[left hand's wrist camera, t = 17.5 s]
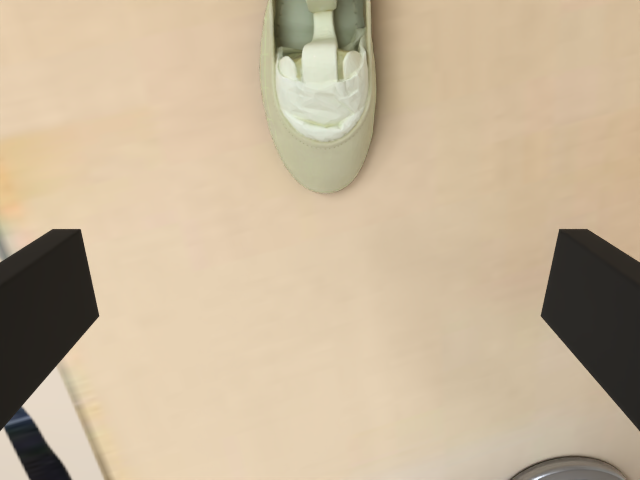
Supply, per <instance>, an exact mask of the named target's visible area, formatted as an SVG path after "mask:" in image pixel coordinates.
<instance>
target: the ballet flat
mask: <svg viewBox="0 0 640 480" xmlns="http://www.w3.org/2000/svg"><path fill="white" fill-rule="evenodd" d="M260 84H261V92H262V99H263V104H264V108H265V113H266V118H267V122H268V126H269V130H270V133H271V136H272V139H273V141H274V144H275V147H276V149H277V151H278V153H279V155H280V157H281V159H282V162H283V163H284V165H285V167H286V168H287V170H288V171H289V172H290V174H291V175H292V176H293V177H294V179H295V180H296V181H297V182H298V183H299V184H301V185H302V186H303V187H305V188H306V189H308V190H311V191H314V192H317V193H333V192H337V191H339V190H341V189H343V188H345V187H346V186H347V185H349V184H350V183H351V182H352V181H353V180H354V179H355V177H356V176H357V174H358V172H359V171H360V169H361V168H362V165H363V163H364V160H365V158H366V156H367V153H368V149H369V146H370V142H371V139H372V135H373V125H374V114H375V105H376V70H375V59H374V53H373V43H372V37H371V0H268V3H267V7H266V11H265V16H264V24H263V31H262V38H261V53H260Z"/></svg>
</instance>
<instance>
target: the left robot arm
mask: <svg viewBox="0 0 640 480" xmlns="http://www.w3.org/2000/svg"><path fill="white" fill-rule="evenodd" d="M98 317H99V313H98V308H97V303H96V299H95V294H94V289H93V285H92V280H91V275H90V271H89V266H88V261H87V257H86V252H85V247H84V243H83V238H82V233H81V229H52V230H51V231H49V232H48V233H46V234H44V235H43V236H41V237H40V238H38V239H36V240H35V241H33V242H32V243H30V244H29V245H27V246H25V247H24V248H22V249H21V250H19V251H18V252H16V253H14V254H13V255H11V256H10V257H8V258H7V259H5V260H3V261H2V262H0V431H1V430H2V428H3V427H4V426H5V425H6V424H7V423H8V421H9V420H10V419H11V418H12V417H13V416H14V414H15V413H16V412H17V411H18V410H19V409H20V407H21V406H22V405H23V404H24V403H25V402H26V400H27V399H28V398H29V397H30V396H31V395H32V394H33V392H34V391H35V390H36V389H37V388H38V387H39V385H40V384H41V383H42V382H43V381H44V380H45V378H46V377H47V376H48V375H49V374H50V373H51V371H52V370H53V369H54V368H55V367H56V366H57V364H58V363H59V362H60V361H61V360H62V359H63V358H64V356H65V355H66V354H67V353H68V352H69V351H70V349H71V348H72V347H73V346H74V345H75V344H76V342H77V341H78V340H79V339H80V338H81V337H82V335H83V334H84V333H85V332H86V331H87V330H88V329H89V327H90V326H91V325H92V324H93V323H94V322H95V320H96V319H97V318H98ZM541 317H542V318H543V319H544V320H545V322H546V323H547V324H548V325H549V326H550V327H551V329H552V330H553V331H554V332H555V333H556V334H557V335H558V337H559V338H560V339H561V340H562V341H563V342H564V344H565V345H566V346H567V347H568V348H569V349H570V351H571V352H572V353H573V354H574V355H575V356H576V358H577V359H578V360H579V361H580V362H581V363H582V364H583V366H584V367H585V368H586V369H587V370H588V371H589V373H590V374H591V375H592V376H593V377H594V378H595V380H596V381H597V382H598V383H599V384H600V385H601V387H602V388H603V389H604V390H605V391H606V392H607V394H608V395H609V396H610V397H611V398H612V399H613V400H614V402H615V403H616V404H617V405H618V406H619V407H620V409H621V410H622V411H623V412H624V413H625V414H626V416H627V417H628V418H629V419H630V420H631V421H632V423H633V424H634V425H635V426H636V427H637V428H638V430H639V431H640V262H638V261H637V260H635V259H633V258H632V257H630V256H629V255H627V254H626V253H624V252H622V251H621V250H619V249H618V248H616V247H615V246H613V245H611V244H610V243H608V242H607V241H605V240H604V239H602V238H600V237H599V236H597V235H596V234H594V233H592V232H591V231H589V230H588V229H559V233H558V238H557V243H556V247H555V252H554V257H553V261H552V266H551V271H550V275H549V280H548V285H547V289H546V294H545V299H544V303H543V308H542V313H541ZM511 480H626V478H625V477H624V475H623V474H622V473H621V472H620V471H618V470H617V469H616V468H614V467H613V466H611V465H609V464H607V463H605V462H602V461H599V460H596V459H591V458H583V457H566V458H558V459H553V460H549V461H545V462H542V463H539V464H537V465H534V466H532V467H530V468H528V469H526V470H524V471H522V472H521V473H519V474H518V475H516V476H515V477H514V478H512V479H511Z"/></svg>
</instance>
